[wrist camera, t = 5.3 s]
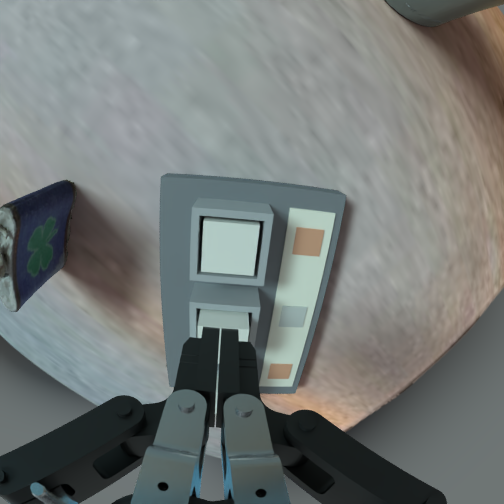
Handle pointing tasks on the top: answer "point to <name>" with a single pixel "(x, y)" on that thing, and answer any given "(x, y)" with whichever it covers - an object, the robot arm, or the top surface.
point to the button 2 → (229, 245)
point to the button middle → (224, 322)
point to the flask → (33, 241)
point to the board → (265, 273)
